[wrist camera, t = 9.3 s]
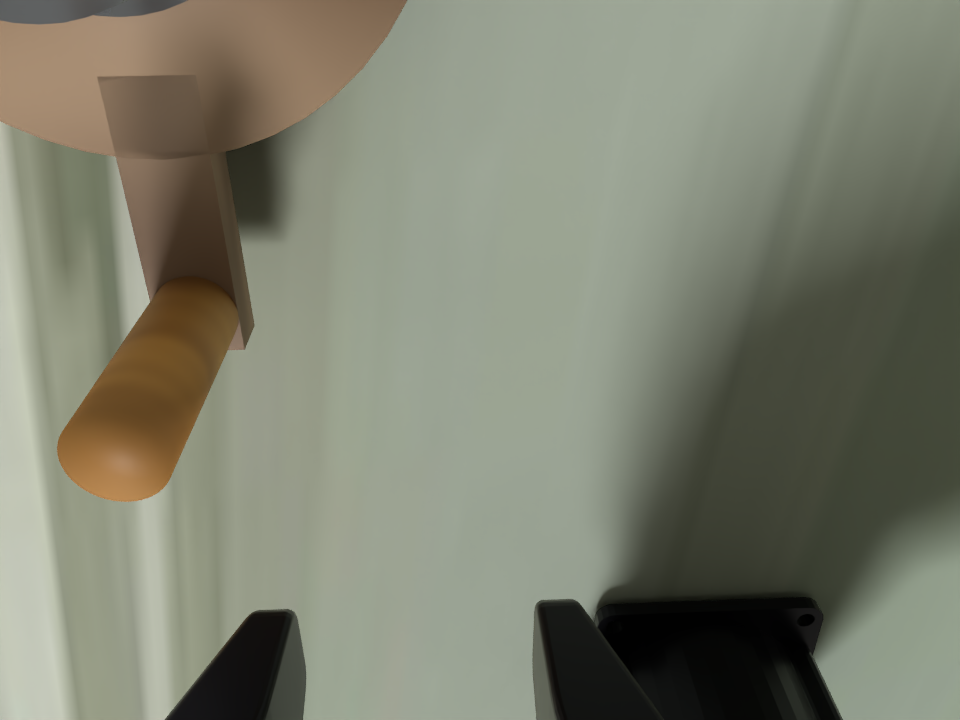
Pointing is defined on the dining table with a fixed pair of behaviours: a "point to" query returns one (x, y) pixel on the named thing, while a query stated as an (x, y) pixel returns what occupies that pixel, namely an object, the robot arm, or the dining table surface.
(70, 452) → the turntable
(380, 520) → the dining table surface
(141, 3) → the cover
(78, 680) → the dining table surface
